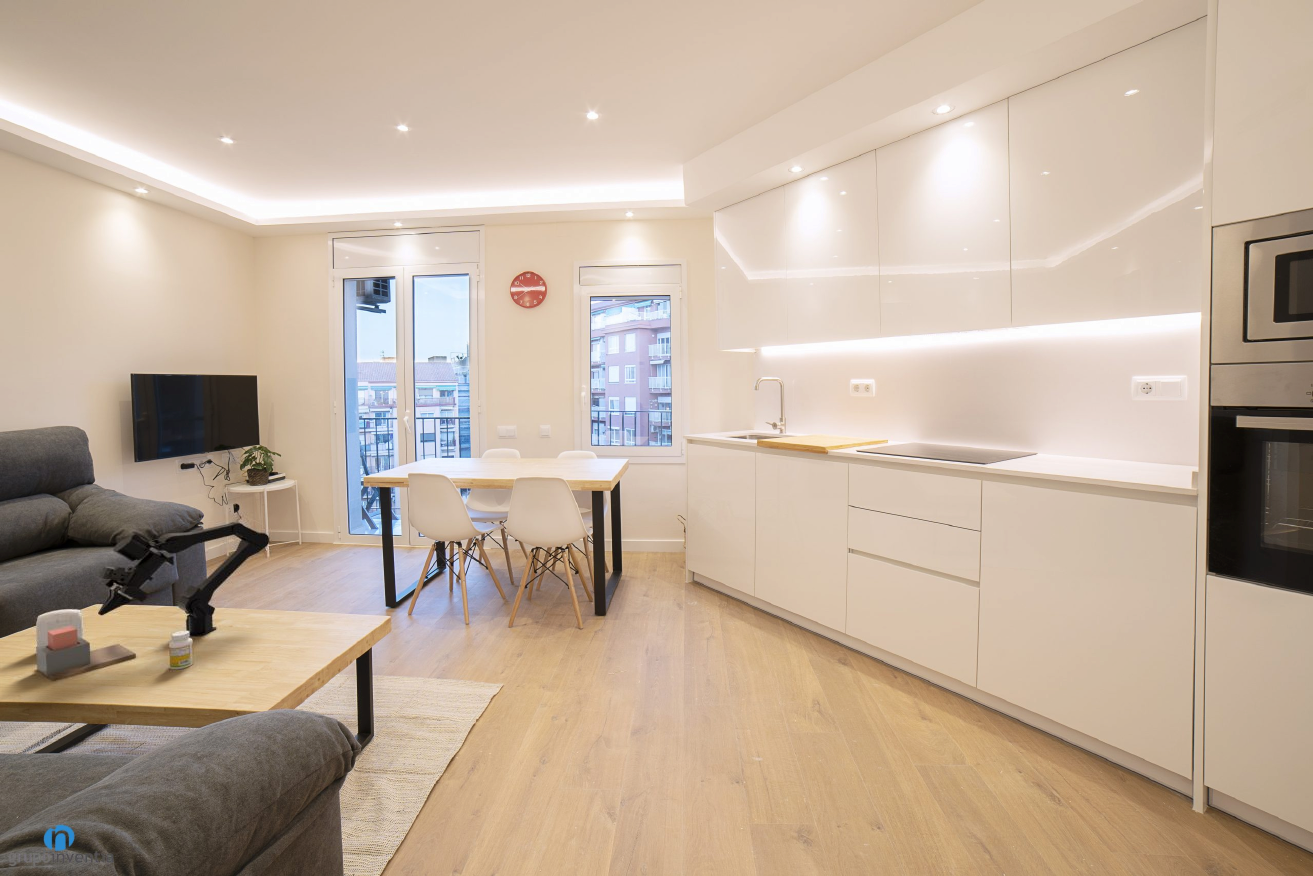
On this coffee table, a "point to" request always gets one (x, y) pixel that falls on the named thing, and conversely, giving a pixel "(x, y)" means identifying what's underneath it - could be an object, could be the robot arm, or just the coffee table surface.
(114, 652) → the board
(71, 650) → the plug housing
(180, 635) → the supplement bottle
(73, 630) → the plug
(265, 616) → the coffee table surface
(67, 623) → the photo printer
